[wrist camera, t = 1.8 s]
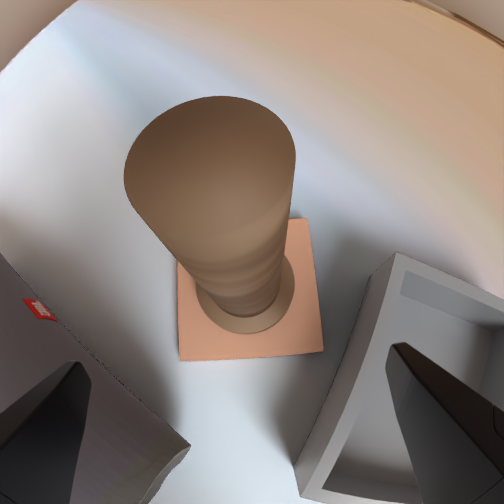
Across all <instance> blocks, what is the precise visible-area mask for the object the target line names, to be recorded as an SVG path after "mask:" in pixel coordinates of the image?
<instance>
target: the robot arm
mask: <svg viewBox="0 0 504 504" xmlns="http://www.w3.org/2000/svg"><path fill="white" fill-rule="evenodd" d="M385 371H386V375H387V379H388V384H389V388H390V392H391V396H392V401H393V405H394V410H395V414H396V417H397V421H398V424H399V427H400V430H401V433H402V436H403V439H404V442H405V445H406V448H407V451H408V454H409V457H410V460H411V464H412V467H413V470H414V473H415V477H416V480H417V484H418V487H419V491H420V494H421V498H422V501H423V504H504V411H503V410H501V409H500V408H499V407H497V406H496V405H493V403H491V402H490V401H489V400H487V399H486V398H484V397H483V396H482V395H480V394H479V393H477V392H476V391H475V390H473V389H472V388H470V387H469V386H468V385H466V384H465V383H463V382H462V381H461V380H459V379H458V378H456V377H455V376H453V375H452V374H451V373H449V372H448V371H446V370H445V369H444V368H442V367H441V366H439V365H438V364H436V363H435V362H434V361H432V360H431V359H429V358H428V357H426V356H425V355H424V354H422V353H421V352H419V351H418V350H416V349H415V348H414V347H412V346H411V345H409V344H408V343H406V342H399V343H393V344H392V345H391V346H390V348H389V352H388V356H387V360H386V364H385ZM91 388H92V381H91V378H90V376H89V375H88V373H87V371H86V369H85V368H84V366H83V364H82V363H81V362H80V361H75V360H68V361H67V362H65V363H64V364H63V365H61V366H60V367H59V368H58V369H56V370H55V371H54V372H52V373H51V374H50V375H48V376H47V377H46V378H45V379H43V380H42V381H41V382H39V383H38V384H37V385H36V386H34V387H33V388H32V389H30V390H29V391H28V392H27V393H25V394H24V395H23V396H22V397H20V398H19V399H18V400H16V401H15V402H14V403H13V404H11V405H10V406H9V407H8V408H6V409H5V410H4V411H3V412H1V413H0V504H70V499H71V493H72V487H73V481H74V476H75V471H76V466H77V461H78V457H79V452H80V448H81V443H82V439H83V435H84V431H85V426H86V420H87V413H88V406H89V400H90V394H91Z"/></svg>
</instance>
